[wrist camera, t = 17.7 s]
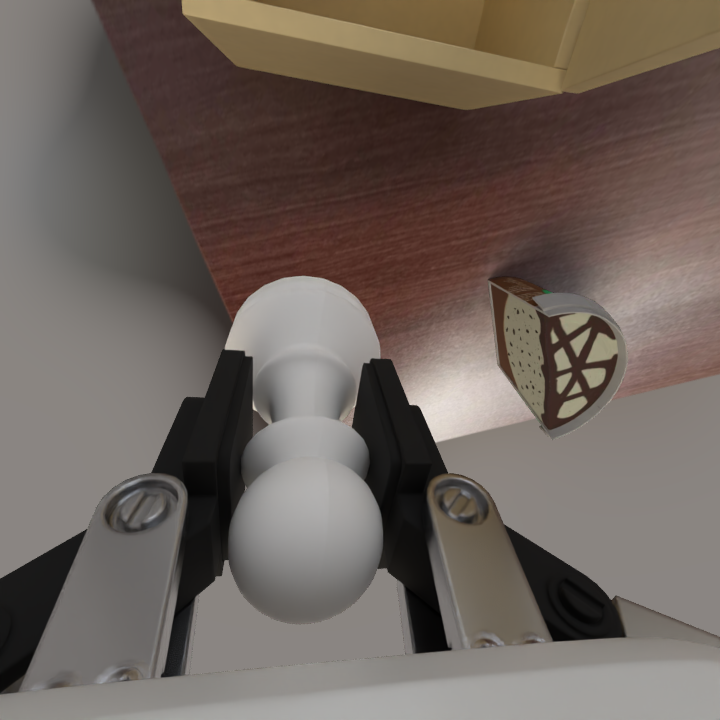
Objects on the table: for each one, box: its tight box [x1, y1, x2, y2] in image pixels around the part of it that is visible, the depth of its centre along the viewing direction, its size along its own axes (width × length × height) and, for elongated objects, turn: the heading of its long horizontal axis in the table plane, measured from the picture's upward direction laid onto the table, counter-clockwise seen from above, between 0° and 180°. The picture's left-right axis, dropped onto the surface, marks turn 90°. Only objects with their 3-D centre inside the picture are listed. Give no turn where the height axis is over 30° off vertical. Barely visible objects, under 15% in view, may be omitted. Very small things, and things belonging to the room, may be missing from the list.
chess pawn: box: [225, 276, 383, 624], centre depth 10 cm, size 5×5×9 cm
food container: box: [488, 277, 628, 440], centre depth 31 cm, size 12×6×10 cm, turn 16°
